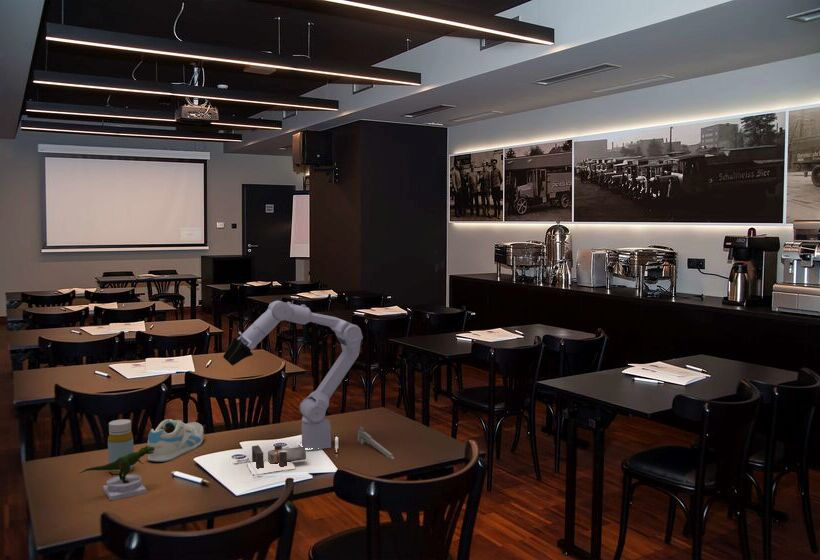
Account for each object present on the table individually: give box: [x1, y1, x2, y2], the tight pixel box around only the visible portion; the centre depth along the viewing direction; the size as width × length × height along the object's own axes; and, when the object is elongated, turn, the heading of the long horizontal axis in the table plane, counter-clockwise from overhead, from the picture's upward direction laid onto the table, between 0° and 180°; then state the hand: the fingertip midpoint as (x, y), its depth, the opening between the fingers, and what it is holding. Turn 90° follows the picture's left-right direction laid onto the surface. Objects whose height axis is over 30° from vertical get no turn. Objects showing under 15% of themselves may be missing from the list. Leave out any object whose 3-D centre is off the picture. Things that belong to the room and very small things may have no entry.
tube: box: [267, 446, 307, 464], centre depth 209 cm, size 11×4×4 cm, turn 114°
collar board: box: [251, 444, 287, 469], centre depth 207 cm, size 13×9×6 cm
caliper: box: [357, 426, 396, 460], centre depth 223 cm, size 20×1×6 cm, turn 37°
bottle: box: [107, 418, 135, 475], centre depth 204 cm, size 7×7×15 cm
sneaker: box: [146, 418, 205, 463], centre depth 223 cm, size 10×27×11 cm, turn 169°
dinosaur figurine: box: [79, 445, 155, 501], centre depth 187 cm, size 9×20×12 cm, turn 126°
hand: (227, 361), depth 212 cm, fingers open, 7 cm apart
